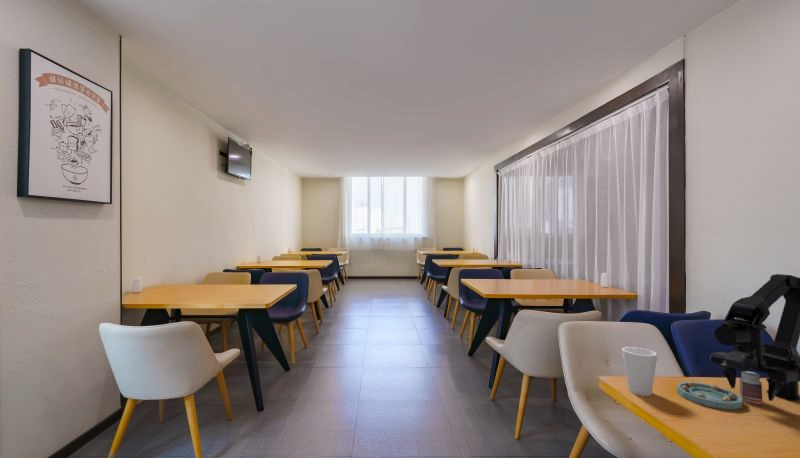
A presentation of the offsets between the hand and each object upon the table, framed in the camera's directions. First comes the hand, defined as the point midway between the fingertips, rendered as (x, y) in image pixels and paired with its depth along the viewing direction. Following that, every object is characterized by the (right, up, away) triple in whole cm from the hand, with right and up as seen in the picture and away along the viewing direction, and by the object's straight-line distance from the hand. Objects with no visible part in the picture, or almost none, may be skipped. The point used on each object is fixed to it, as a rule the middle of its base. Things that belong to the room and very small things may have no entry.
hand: (751, 394), depth 107 cm
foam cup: (-30, -2, +6) cm, 31 cm away
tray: (-12, -2, +1) cm, 12 cm away
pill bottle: (0, -2, 0) cm, 2 cm away
